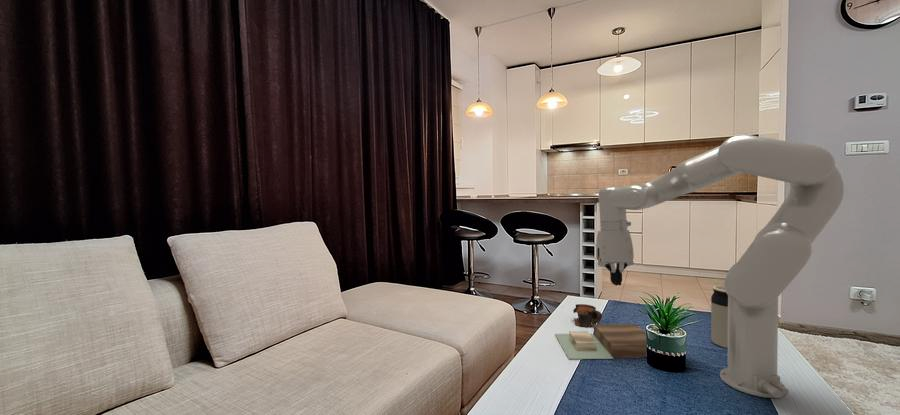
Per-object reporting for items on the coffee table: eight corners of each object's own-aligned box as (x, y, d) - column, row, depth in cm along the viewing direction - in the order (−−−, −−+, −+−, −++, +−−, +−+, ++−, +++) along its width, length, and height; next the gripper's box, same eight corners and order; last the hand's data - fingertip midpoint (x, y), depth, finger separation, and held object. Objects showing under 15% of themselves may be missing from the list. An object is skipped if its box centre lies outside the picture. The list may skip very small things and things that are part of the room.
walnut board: (660, 357, 103) (660, 344, 103) (612, 357, 104) (611, 344, 104) (635, 335, 119) (635, 323, 119) (593, 335, 120) (593, 324, 120)
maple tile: (576, 343, 109) (577, 350, 109) (596, 343, 108) (596, 350, 108) (569, 331, 118) (569, 338, 118) (587, 331, 117) (587, 338, 117)
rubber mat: (613, 359, 103) (613, 358, 103) (568, 359, 104) (568, 358, 104) (592, 334, 121) (592, 333, 121) (554, 334, 122) (554, 333, 122)
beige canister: (735, 352, 105) (736, 293, 104) (706, 342, 112) (706, 287, 111) (748, 345, 109) (748, 288, 108) (718, 336, 116) (718, 283, 115)
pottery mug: (566, 324, 132) (568, 303, 135) (582, 330, 136) (583, 309, 140) (594, 325, 122) (595, 302, 126) (610, 332, 127) (611, 309, 130)
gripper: (632, 224, 112) (635, 280, 113) (585, 226, 113) (588, 282, 114) (643, 225, 105) (647, 286, 105) (593, 228, 106) (596, 288, 106)
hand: (616, 284), depth 109 cm, fingers closed
